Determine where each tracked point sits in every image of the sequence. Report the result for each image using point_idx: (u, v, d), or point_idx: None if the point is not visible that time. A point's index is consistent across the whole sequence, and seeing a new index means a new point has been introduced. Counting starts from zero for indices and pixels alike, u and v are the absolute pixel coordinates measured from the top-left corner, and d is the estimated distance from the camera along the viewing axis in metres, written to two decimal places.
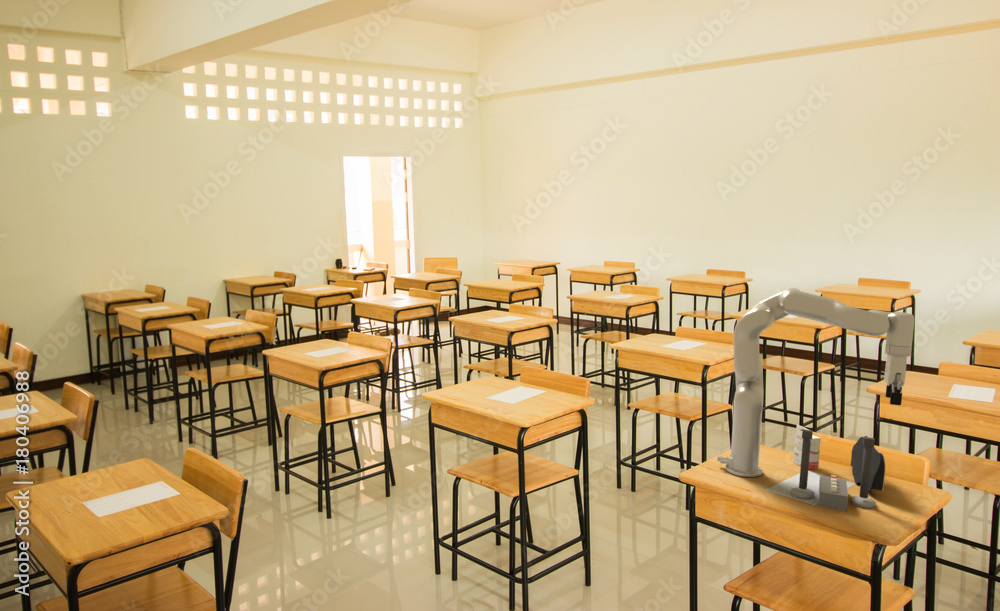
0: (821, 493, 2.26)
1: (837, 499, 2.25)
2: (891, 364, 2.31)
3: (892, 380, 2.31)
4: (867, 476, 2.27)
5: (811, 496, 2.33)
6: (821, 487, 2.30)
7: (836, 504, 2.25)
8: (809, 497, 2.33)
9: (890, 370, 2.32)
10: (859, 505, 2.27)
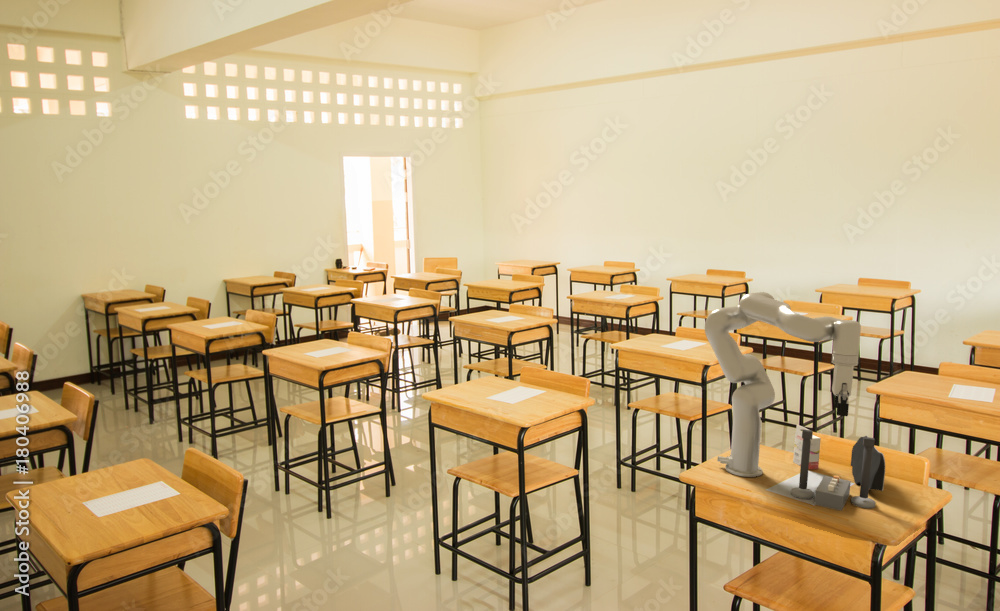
0: (816, 492, 2.28)
1: (832, 498, 2.25)
2: (837, 374, 2.24)
3: (838, 390, 2.24)
4: (867, 476, 2.27)
5: (811, 496, 2.33)
6: (819, 486, 2.31)
7: (831, 503, 2.25)
8: (809, 497, 2.33)
9: (836, 380, 2.24)
10: (859, 505, 2.27)
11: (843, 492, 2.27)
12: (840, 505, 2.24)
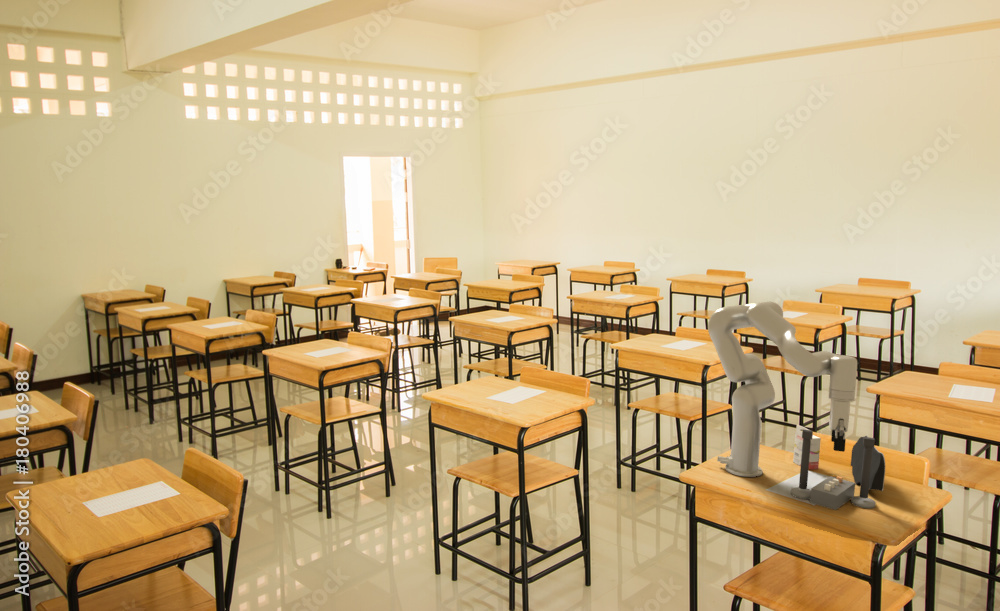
0: (812, 490, 2.29)
1: (826, 497, 2.26)
2: (834, 409, 2.25)
3: (835, 426, 2.25)
4: (867, 476, 2.27)
5: None
6: (817, 485, 2.32)
7: (826, 502, 2.26)
8: (809, 497, 2.33)
9: (833, 415, 2.25)
10: (859, 505, 2.27)
11: (840, 492, 2.27)
12: (834, 504, 2.25)
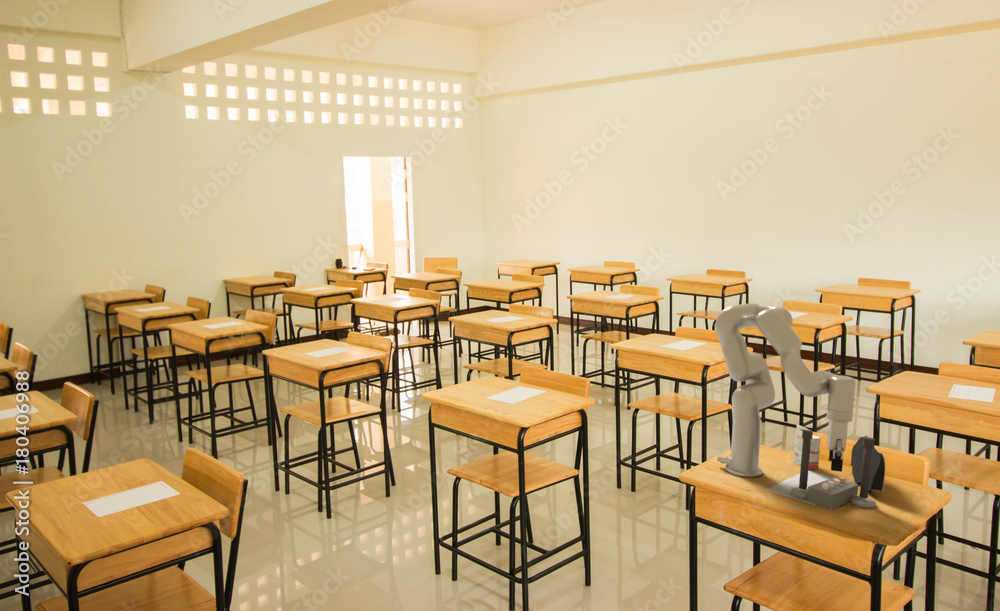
0: (809, 488, 2.30)
1: (822, 496, 2.27)
2: (832, 429, 2.26)
3: (833, 446, 2.26)
4: (867, 476, 2.27)
5: None
6: (817, 484, 2.33)
7: (822, 501, 2.27)
8: None
9: (831, 435, 2.26)
10: (859, 505, 2.27)
11: (836, 492, 2.27)
12: (829, 503, 2.25)
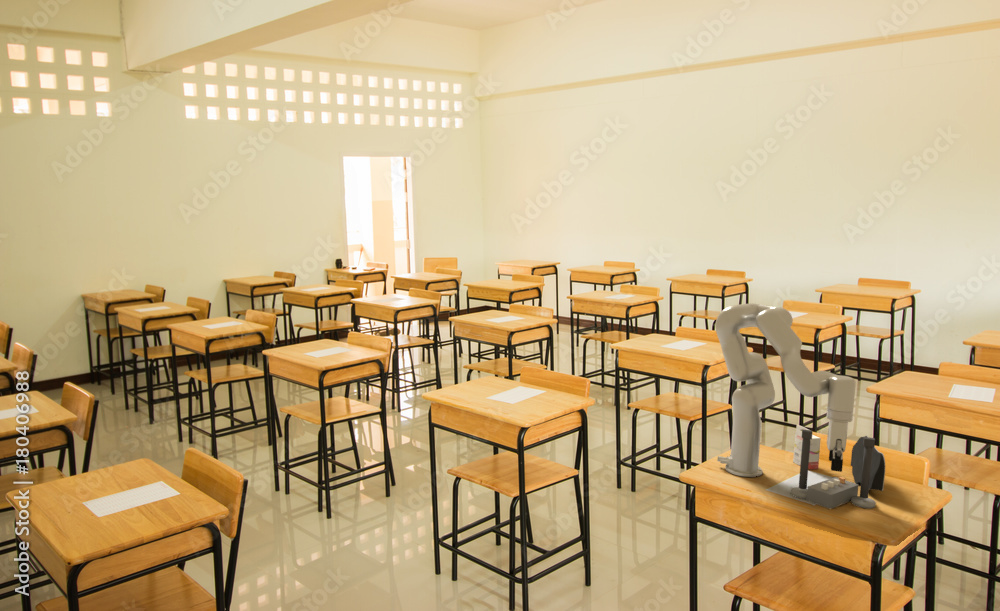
0: (808, 488, 2.31)
1: (821, 496, 2.27)
2: (832, 429, 2.26)
3: (833, 446, 2.26)
4: (867, 476, 2.27)
5: None
6: (816, 484, 2.33)
7: (821, 500, 2.27)
8: None
9: (831, 436, 2.26)
10: (859, 505, 2.27)
11: (836, 492, 2.27)
12: (828, 503, 2.25)
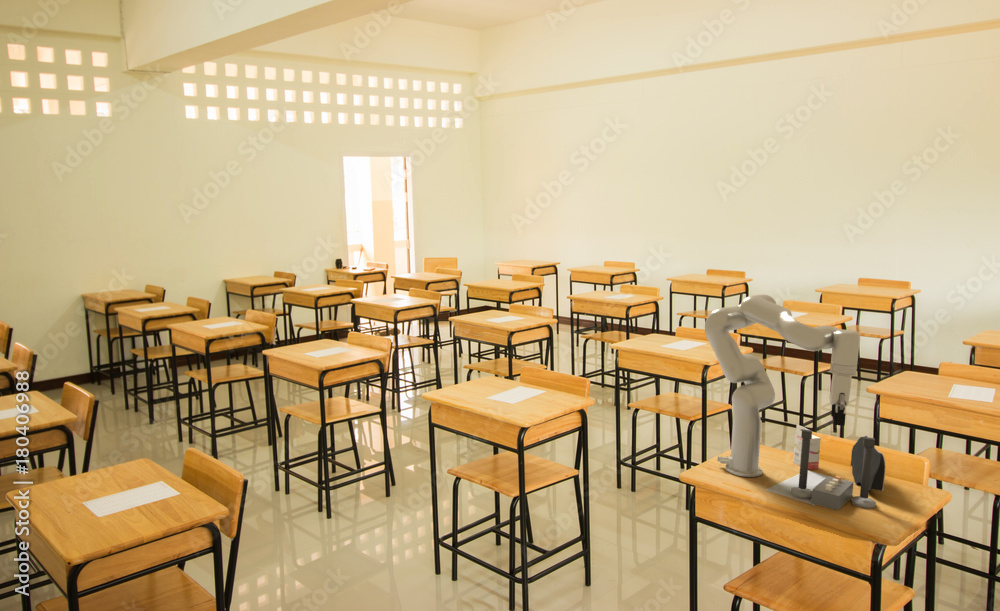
0: (813, 490, 2.29)
1: (828, 497, 2.26)
2: (835, 383, 2.24)
3: (836, 400, 2.24)
4: (867, 476, 2.27)
5: (811, 496, 2.33)
6: (818, 485, 2.32)
7: (828, 502, 2.26)
8: (809, 497, 2.33)
9: (834, 389, 2.25)
10: (859, 505, 2.27)
11: (841, 492, 2.27)
12: (836, 505, 2.24)
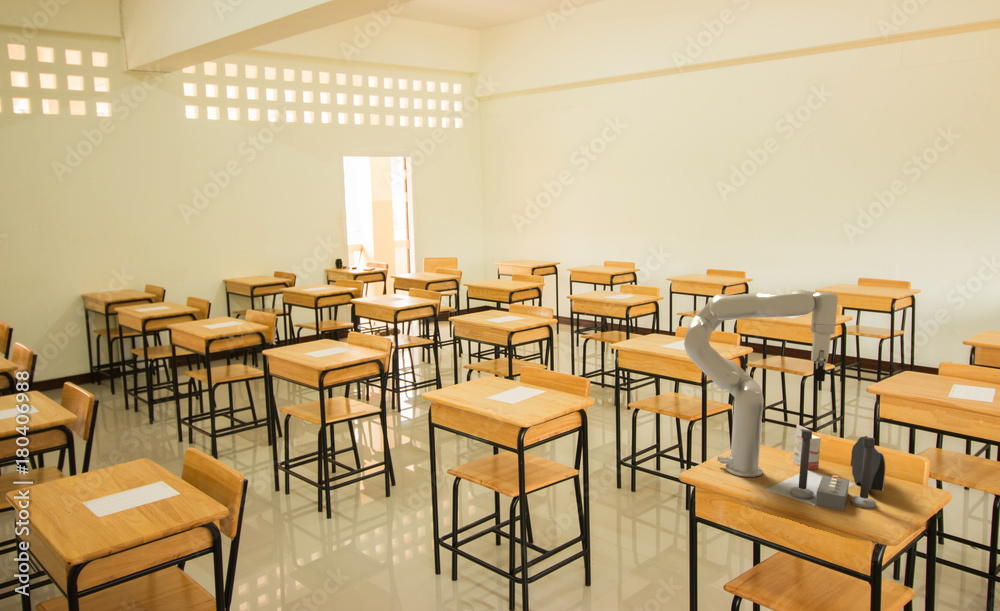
0: (818, 492, 2.27)
1: (833, 498, 2.25)
2: (815, 342, 2.41)
3: (816, 357, 2.40)
4: (867, 476, 2.27)
5: (811, 496, 2.33)
6: (820, 486, 2.31)
7: (833, 503, 2.25)
8: (809, 497, 2.33)
9: (814, 347, 2.41)
10: (859, 505, 2.27)
11: (844, 492, 2.27)
12: (842, 505, 2.24)
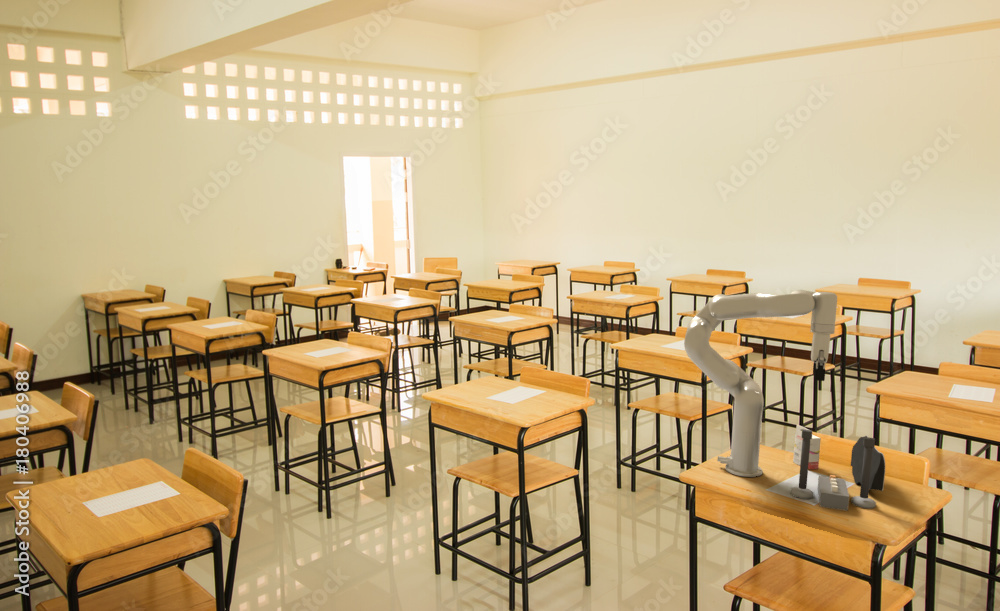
0: (822, 493, 2.26)
1: (838, 499, 2.25)
2: (815, 341, 2.41)
3: (816, 357, 2.41)
4: (867, 476, 2.27)
5: (811, 496, 2.33)
6: (821, 487, 2.30)
7: (837, 504, 2.25)
8: (809, 497, 2.33)
9: (814, 347, 2.41)
10: (859, 505, 2.27)
11: (846, 492, 2.27)
12: (846, 505, 2.24)
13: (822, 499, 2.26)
